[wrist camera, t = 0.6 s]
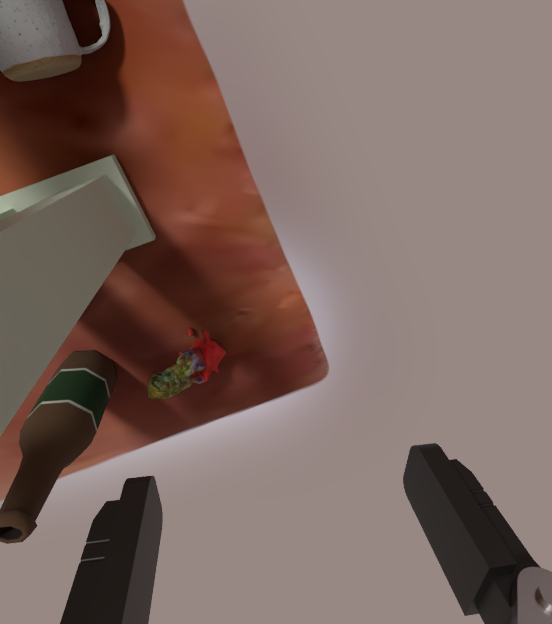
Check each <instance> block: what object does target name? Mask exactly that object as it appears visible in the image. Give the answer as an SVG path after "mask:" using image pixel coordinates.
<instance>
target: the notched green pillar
mask: <svg viewBox="0 0 552 624" xmlns="http://www.w3.org/2000/svg"><path fill="white" fill-rule="evenodd" d="M155 238H156V235H155V233H154V231H153V229H152V227H151V226H150V224H149V222H148V220H147V218H146V216H145V214H144V212H143V210H142V208H141V206H140V204H139V202H138V200H137V198H136V196H135V194H134V192H133V190H132V188H131V186H130V184H129V182H128V180H127V178H126V176H125V174H124V172H123V170H122V168H121V166H120V164H119V162H118V160H117V158H116V156H115V154H113V155H111V156H108V157H105V158H103V159H100V160H97V161H94V162H92V163H89V164H86V165H84V166H81V167H78V168H75V169H73V170H70V171H67V172H65V173H62V174H59V175H57V176H54V177H51V178H48V179H46V180H43V181H40V182H38V183H35V184H32V185H29V186H27V187H24V188H21V189H19V190H16V191H13V192H10V193H8V194H5V195H2V196H0V436H1V434H2V433H3V431H4V430H5V428H6V427H7V425H8V424H9V422H10V421H11V420H12V418H13V417H14V415H15V414H16V412H17V411H18V409H19V408H20V406H21V405H22V403H23V402H24V400H25V399H26V397H27V396H28V394H29V393H30V391H31V390H32V388H33V387H34V385H35V384H36V382H37V381H38V379H39V378H40V376H41V375H42V373H43V372H44V370H45V369H46V367H47V366H48V364H49V363H50V361H51V360H52V358H53V357H54V355H55V354H56V352H57V351H58V349H59V348H60V347H61V345H62V344H63V342H64V341H65V339H66V338H67V336H68V335H69V333H70V332H71V330H72V329H73V327H74V326H75V324H76V323H77V321H78V320H79V318H80V317H81V315H82V314H83V312H84V311H85V309H86V308H87V306H88V305H89V303H90V302H91V300H92V299H93V297H94V296H95V294H96V293H97V291H98V290H99V288H100V287H101V285H102V284H103V282H104V281H105V279H106V278H107V276H108V275H109V274H110V272H111V271H112V269H113V268H114V266H115V265H116V263H117V262H118V260H119V259H120V257H121V256H122V254H123V253H124V251H126V250H129V249H131V248H134V247H137V246H140V245H142V244H145V243H148V242H151V241H153V240H155Z"/></svg>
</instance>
